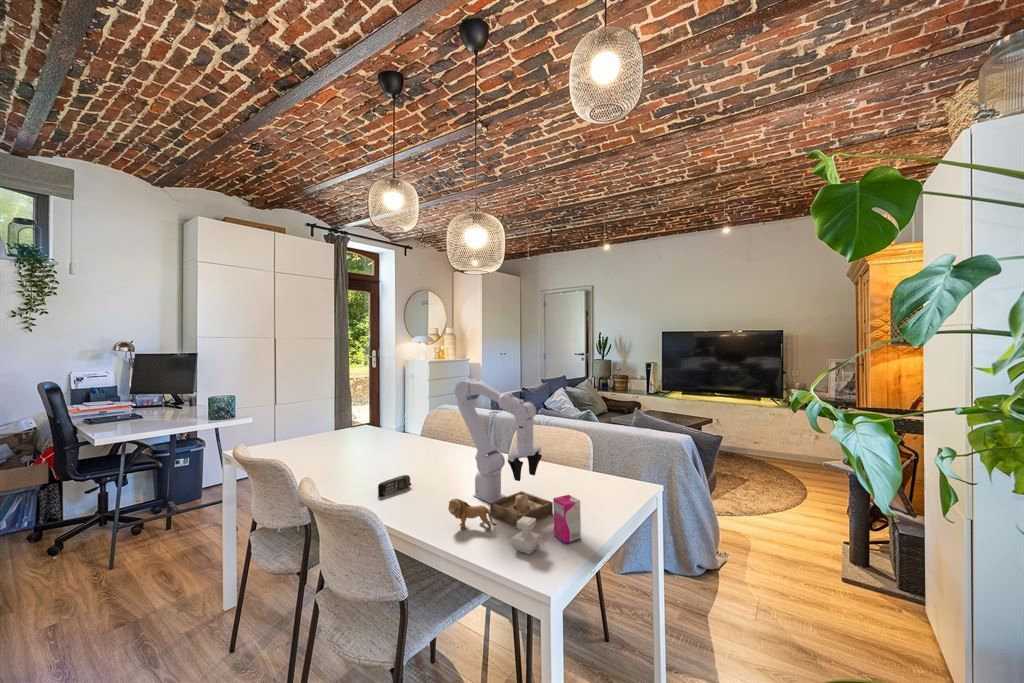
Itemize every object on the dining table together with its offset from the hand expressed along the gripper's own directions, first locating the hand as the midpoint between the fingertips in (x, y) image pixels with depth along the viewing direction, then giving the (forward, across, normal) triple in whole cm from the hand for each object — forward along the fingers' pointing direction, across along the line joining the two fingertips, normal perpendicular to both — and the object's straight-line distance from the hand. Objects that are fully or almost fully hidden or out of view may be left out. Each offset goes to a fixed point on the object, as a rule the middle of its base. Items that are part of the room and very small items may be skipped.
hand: (524, 477), depth 141 cm
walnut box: (+10, -6, -4) cm, 12 cm away
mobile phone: (+10, -24, +45) cm, 52 cm away
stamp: (+10, -21, -20) cm, 31 cm away
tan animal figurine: (+10, -23, +1) cm, 26 cm away
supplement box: (+10, -8, -24) cm, 27 cm away
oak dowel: (+10, -6, -4) cm, 12 cm away
